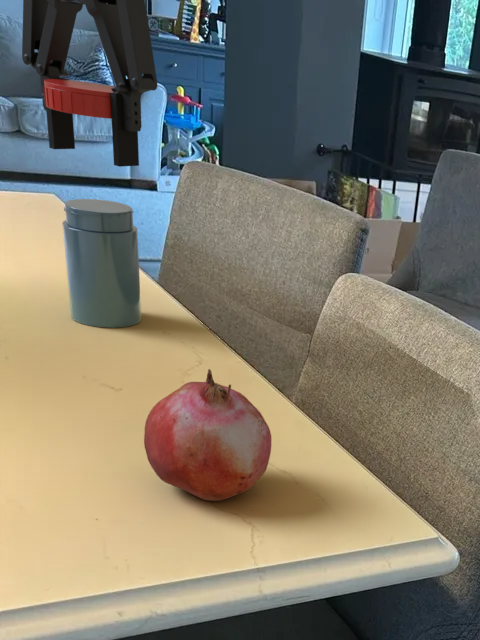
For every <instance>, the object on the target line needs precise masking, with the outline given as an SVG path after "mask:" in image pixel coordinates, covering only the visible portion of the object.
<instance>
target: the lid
mask: <svg viewBox="0 0 480 640" xmlns="http://www.w3.org/2000/svg"><path fill="white" fill-rule="evenodd" d="M114 87H115V86H114V85H108V84H102V83H96V82H89V81H81V80H73V79H70V80H64V79H45V80H44V97H45V105H46V106H47V107H48V108H50V109H53V110H57V111H61V112H65V113H71V114H73V115H77V116H82V117H91V118H99V119H111V120H112V118H111V99H110V93H113V91H112V90H111V88H114Z"/></svg>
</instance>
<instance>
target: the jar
mask: <svg viewBox="0 0 480 640" xmlns="http://www.w3.org/2000/svg"><path fill="white" fill-rule="evenodd" d="M63 211H64V212H65V220H63V221H62V231H63V232H62V234H63V244H64V255H65V265H66V266H65V267H66V278H67V279H66V280H67V289H68V301H69V311H70V318H71V319H72V320H73V321H75V322H76V323H79V324H82V325H85V326H90V327H97V328H106V329H107V328H109V329H111V328H112V329H113V328H114V329H115V328H127V327H132V326H135V325H138V324H139V323H140V322H141V321H142V301H141V300H142V299H141V280H140V279H141V278H140V263H139V262H140V259H139V238H138V228H137V226H135V224H134V210H133V208H132V207H131V206H130V205H128V204H125V203H122V202H117V201H113V200H105V199H96V198H76V199H69V200H67V201H65V202H64V207H63Z"/></svg>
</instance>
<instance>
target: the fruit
mask: <svg viewBox="0 0 480 640" xmlns="http://www.w3.org/2000/svg"><path fill="white" fill-rule="evenodd" d="M143 445H144V450H145V454H146V458H147V460H148V461H147V462H148V463H149V465H150V467H151V469H152V470H153V471H154V473H155V475H156V476H157V477H158V478H159V479H160V480H161V481H162V482H163V483H166V484H168V485H171V486H173V487H176V488H178V489H181V490H183V491H185V492H187V493H189V494H191V495H193V496H195V497H198V498H199V499H200V500H203V501H210V502H215V501H216V502H217V501H224V500H227V499H229V498H232V497H235V496H237V495H241V494H243V493H245V492H246V491H248V490H250V489H251V488H252V487H253V486H255V485H256V483H257V482H258V481H259V480H260V479H261V477H262V476H263V475H264V474H265V473H266V471H267V469H268V465H269V463H270V458H271V453H272V433H271V429H270V427H269V425H268V423H267V421H266V420H265V418H264V416H263V415H262V413H261V411H260V410H259V409H258V408H257V407H256V406H255V405H254V404H253V403H252V402H251V401H250V400H249V399H248V397H246V396H245V395H244V394H243V393H241V392H239V391H237V390H235V389H233V388H232V384H228V386H226V385H223V384H220V383H217V382H215V380H214V378H213V372H212V370H211V369H210V368H208V369H207V374H206V379H205V381H188V382H186V383H184V384H182V385H181V386H180V387H179V388H177V389H175V390H174V391H173V392H171V393H170V394H168V395H166V396H165V397H163V398H162V399H160V400H159V401H158V402H157V403H156V404H155V405H154V406H153V407H152V408H151V410H150V411H149V412H148V415H147V417H146V419H145V425H144V435H143Z"/></svg>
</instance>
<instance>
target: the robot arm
mask: <svg viewBox="0 0 480 640" xmlns="http://www.w3.org/2000/svg"><path fill="white" fill-rule="evenodd" d="M146 5H147V4H146V0H22V36H21V37H22V40H21V41H22V42H21V44H22V45H21V59H22V61H23V64H24V65H25V66H31V67H32V68H33V69H34V70H35V71H36V73H37V74H38V75H39V76H40V77H39V79H40V89H41V100H42V101H41V102H42V106H43V110H44V111H45V112H46V122H47V124H46V125H47V134H48V146H49V149H52V150H75V149H76V144H75V143H76V141H75V129H74V128H75V127H74V114H71V113H65V112H61V111H57V110H53V109H50V108H48V107H47V106H46V105H45V97H44V80H45V79H64V80H71V79H70V78H67V77H68V76H69V75H70V74H69V72H68V71H66V69H65V68H66V63H67V58H68V54H69V50H70V46H71V41H72V37H73V32H74V28H75V24H76V19H77V15H78V13H80V12H81V11H82V9H83V7H84V6H85V8H86V11H87V13H88V14H89V16H91V17H92V18H93V21H94V23H95V27H96V30H97V32H98V33H97V34H98V36H99V38H100V41H101V42H100V43H101V46H102V48H103V51H104V54H105V57H106V61H107V63H108V66H109V69H110V73H111V75H112V79H113V81H114V85H115V86H114V88H111V90H112V91H113V93H110V99H111V118H112V119H111V135H112V138H111V139H112V155H113V157H112V158H113V166H116V167H120V168H121V167H139V166H140V154H139V153H140V152H139V132H141V130H142V126H143V125H142V103H141V102H142V101H141V99H142V96H143V94H144V93H146V92H150V91H156V90H157V88H158V79H157V71H156V65H155V58H154V53H153V52H154V51H153V45H152V38H151V32H150V25H149V19H148V18H149V17H148V12H147V6H146ZM35 50H36V51H35Z"/></svg>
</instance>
